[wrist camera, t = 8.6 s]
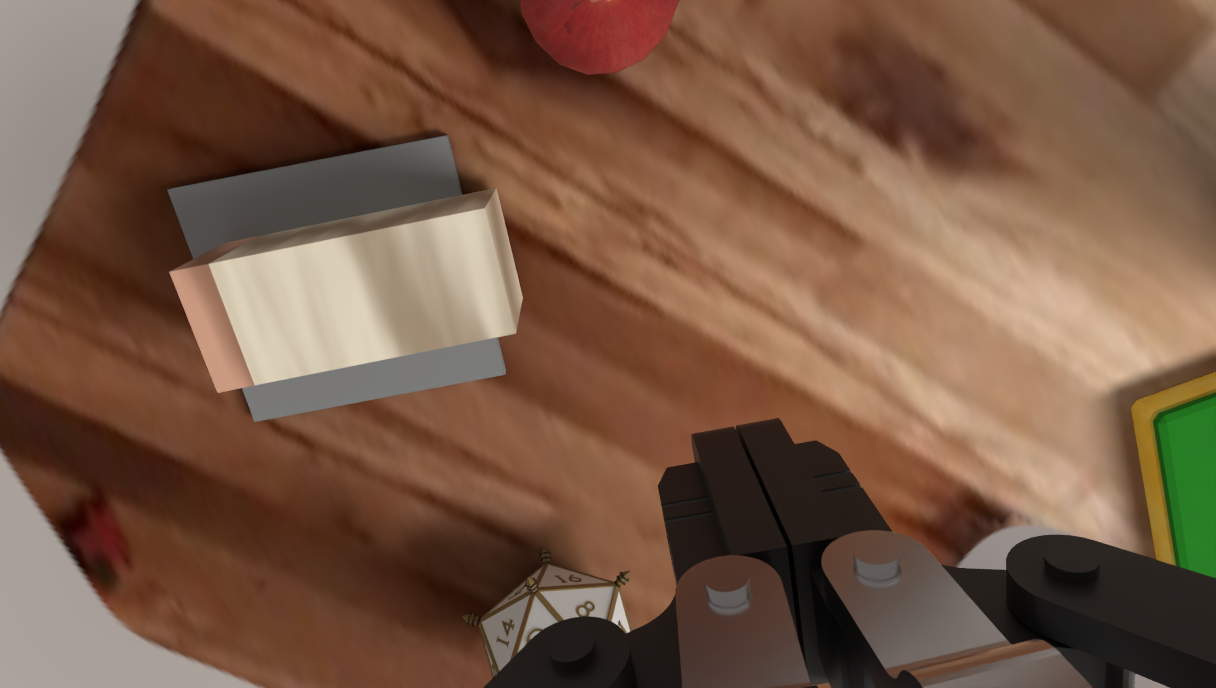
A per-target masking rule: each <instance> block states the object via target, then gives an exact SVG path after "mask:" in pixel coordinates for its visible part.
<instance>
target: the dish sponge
mask: <svg viewBox="0 0 1216 688" xmlns="http://www.w3.org/2000/svg"><path fill="white" fill-rule="evenodd" d="M1131 412H1132V418H1133V424H1134V430H1135V436H1136V442H1137V448H1138V454H1139V460H1140V465H1141V471H1142V477H1143V483H1144V489H1145V495H1146V501H1147V507H1148V513H1149V519H1150V525H1151V531H1152V537H1153V543H1154V549H1155V555H1156V560H1159V561H1162V562H1165V563H1168V564H1172V565H1175V566H1178V567H1181V568H1185V569H1188V570H1191V571H1194V572H1197V573H1201V574H1204V575H1207V576H1210V577H1214V578H1216V372H1213V373H1210V374H1208V375H1205V376H1202V377H1199V378H1196V379H1194V380H1191V381H1188V382H1185V383H1183V384H1180V385H1177V386H1174V387H1171V388H1169V389H1166V390H1163V391H1160V392H1157V393H1155V394H1152V395H1149V396H1146V397H1144V398H1141V399H1138V400H1136V402H1135V403H1134V404H1133V406H1132V407H1131Z"/></svg>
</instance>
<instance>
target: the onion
mask: <svg viewBox="0 0 1216 688" xmlns="http://www.w3.org/2000/svg"><path fill="white" fill-rule="evenodd" d="M678 2H679V0H520V7H521V13H522V15H523V17H524V19H525V21H526V23H527V25H528V27H529V29H530V31H531V33H532V35H533V37H534V39H535V41H536V43H537V44H538V45H539V46H540V47H541V48H542V49H543V50H545V51H546V52H547V53H548V54H549V55H550V56H551V57H552V58H553V59H554V60H555V61H556V62H557V63H558V64H559V65H562V66H565V67H568V68H570V69H573V70H576V71H579V72H581V73H584V74H587V75H591V74H603V73H616V72H619V71H621V70H623V69H625V68H627V67H629V66H631V65H633V64H635V63H637V62H639V61H641V60H643V59H645V58H646V57H647V55H648V54H649V53H650V52H651V51H652V50H653V49H654V48H655V46H656V45H657V44H658V43H659V42H660V41H661V40H662V39H663V37H664V36H665V35H666V33H667V30H668V28H669V25H670V22H671V20H672V17H673V15H674V12H675V9H676V7H677V4H678Z"/></svg>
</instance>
